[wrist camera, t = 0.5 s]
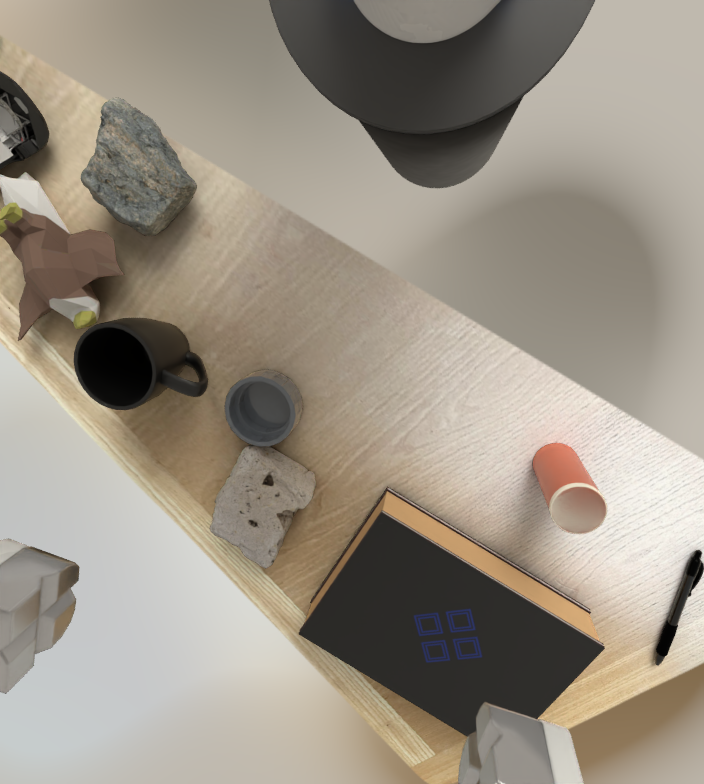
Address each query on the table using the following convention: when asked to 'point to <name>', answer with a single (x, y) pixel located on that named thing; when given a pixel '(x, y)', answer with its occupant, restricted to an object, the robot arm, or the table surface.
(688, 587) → the pen
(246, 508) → the stone
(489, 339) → the table surface
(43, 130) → the toy car
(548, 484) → the canister
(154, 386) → the mug
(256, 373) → the bowl
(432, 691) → the book
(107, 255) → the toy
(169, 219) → the rock
